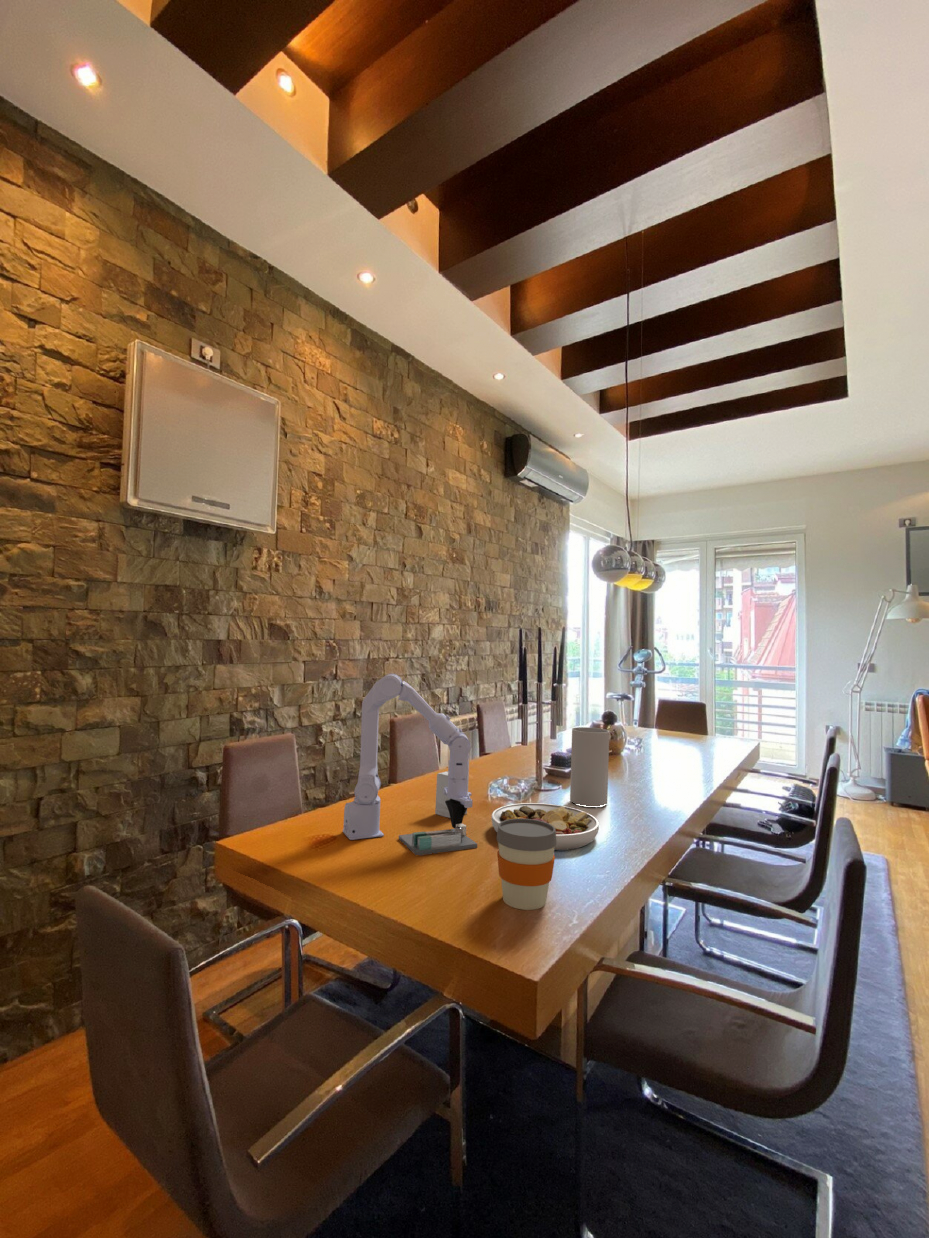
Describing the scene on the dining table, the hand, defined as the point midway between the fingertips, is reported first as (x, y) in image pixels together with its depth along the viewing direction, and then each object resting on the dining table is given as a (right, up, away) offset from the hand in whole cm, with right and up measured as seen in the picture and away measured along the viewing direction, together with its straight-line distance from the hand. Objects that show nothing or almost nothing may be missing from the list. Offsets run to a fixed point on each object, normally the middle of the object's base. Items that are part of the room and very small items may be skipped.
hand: (456, 827), depth 159 cm
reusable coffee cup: (+15, -1, -39) cm, 42 cm away
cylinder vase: (+45, -6, +38) cm, 59 cm away
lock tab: (+1, -1, -3) cm, 3 cm away
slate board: (-5, -2, -7) cm, 9 cm away
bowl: (+25, -4, +4) cm, 25 cm away
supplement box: (-2, -3, +20) cm, 20 cm away
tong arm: (-6, 0, -11) cm, 12 cm away
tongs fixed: (-4, -1, -11) cm, 12 cm away
